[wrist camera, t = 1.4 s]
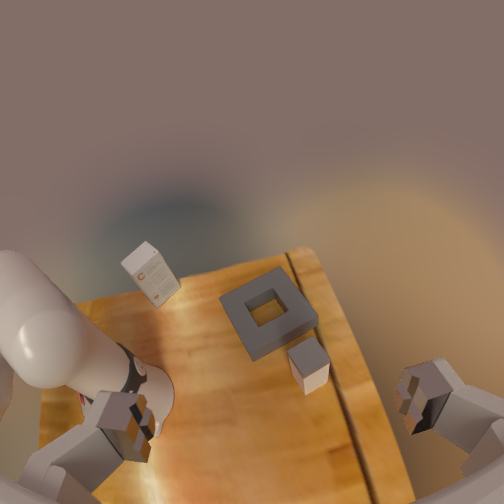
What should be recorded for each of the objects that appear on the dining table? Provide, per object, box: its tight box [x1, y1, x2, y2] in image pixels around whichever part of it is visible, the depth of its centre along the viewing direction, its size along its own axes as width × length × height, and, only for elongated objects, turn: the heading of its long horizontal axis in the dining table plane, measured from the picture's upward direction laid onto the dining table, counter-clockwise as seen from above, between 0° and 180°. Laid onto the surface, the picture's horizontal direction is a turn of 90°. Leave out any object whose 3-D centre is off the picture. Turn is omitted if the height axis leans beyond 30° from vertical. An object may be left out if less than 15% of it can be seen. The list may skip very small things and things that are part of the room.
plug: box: [287, 336, 330, 395], centre depth 45 cm, size 5×5×12 cm
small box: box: [120, 241, 181, 308], centre depth 65 cm, size 8×6×13 cm
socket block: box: [219, 266, 318, 362], centre depth 58 cm, size 15×15×4 cm
